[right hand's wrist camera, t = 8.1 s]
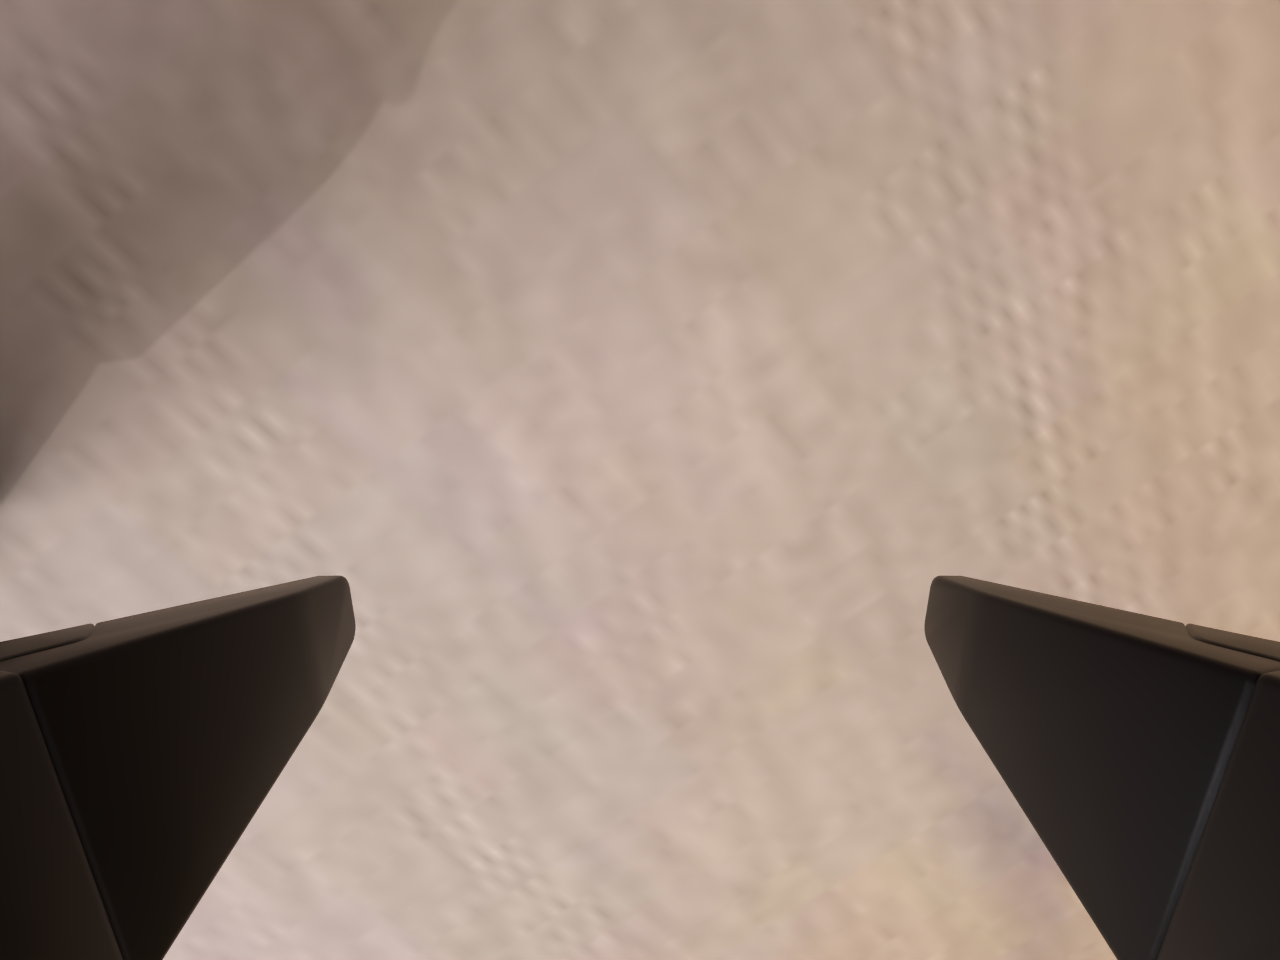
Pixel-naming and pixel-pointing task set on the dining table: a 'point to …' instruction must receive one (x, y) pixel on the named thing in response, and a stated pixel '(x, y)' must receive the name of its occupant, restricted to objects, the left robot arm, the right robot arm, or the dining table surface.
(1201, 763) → the right robot arm
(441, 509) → the dining table surface
